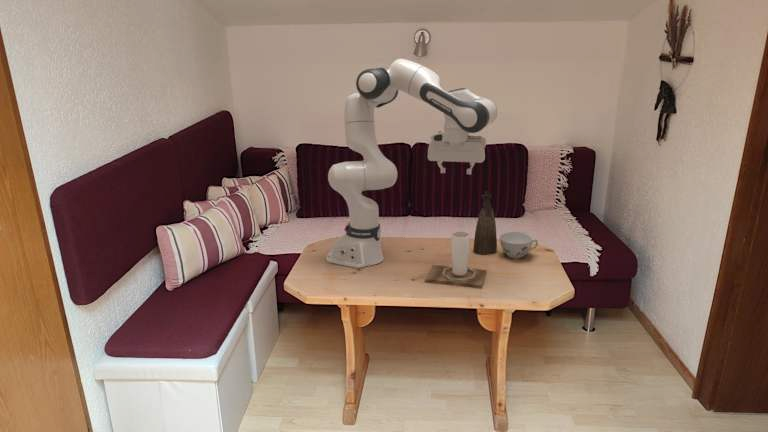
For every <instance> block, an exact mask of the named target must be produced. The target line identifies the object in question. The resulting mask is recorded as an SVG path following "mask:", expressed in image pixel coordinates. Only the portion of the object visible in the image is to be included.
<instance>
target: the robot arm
mask: <svg viewBox="0 0 768 432" xmlns="http://www.w3.org/2000/svg"><path fill="white" fill-rule="evenodd" d="M355 86H356V90H357V92H355V93H352V94H350V95H348V96H347V98H346V99H345V102H344V115H343V118H344V119H343V120H344V135H345V137H344V138H345V144H346V146H347V147H348V148H349V149H350V150H352V151H353V152H357V153H358V154H360V155H362V157H363V160H355V161H343V162H338V163H335V164H332V165H331V167H330V168H329V170H328V174H327V180H328V183H329V186H330V187H331V189H332V190H334V191H336V192H337V193H339V195H341V196H342V197H343V199H344V200H345V202H346V204H347V208H348V213H349V215H348V216H349V221H348V222H347V225H345V227H344V228H343V231H344V232H345V233H344V234H342V235H341V236H339V237H338V238H337V239H336V240H335V241H334V242H333V244H332V247H331V251H329V252H328V253H327V254H326V256H325V261H326V263H331V264H335V265H340V266H341V265H342V266H345V267H349V268H355V269H361V268H365V267H367V266H368V267H370V266H374V265H376V264H377V265H378V264H380V263H381V262H383V261H384V259H385V257H384V254H383V250H382V246H381V240H380V239H381V224H380V223H379V222H380V217H379V213H380V212H379V205H378V203H377V202H376V201H374V199H371V198H370V197H367V196H365V195H363V194H362V192H365V191H375V190H384V189H388V188H391V187H393V186H394V185H395V184H396V182H397V179H398V170H397V167H396V165H395V164H394V163H393V162H392V161H391V160H390V159H388V158H387V157H386V156H385V155H384V154H383V152H382V151H381V149H380V148H379V145H378V141H377V138H376V137H377V136H376V130H375V129H376V127H375V126H376V125H375V115H374V114H375V108H377V109H379V108H381V107H384V106H385V105H388V104H390V103H392V102H394V101H395V99H397V97H398V95H399V91H400V92H404V93H406V94H407V95H408V96H411V97H412V98H415V99H417V100H419V101H422V102H424V103H426V104H428V105H430V106H431V107H433V108H435V109H436V110H438V111H440V112H442V113H443V116H444V124H443V129H442V130H440V131H437V132H434V133H433V134H431V136H430V141H431V142H430V143H428V147H427V160H428V161H430V162H437V163H436V164H437V165H438V167H439V169H440V174H446V167H443V165H442V163H443V162H449V163H451V162H453V163H455V162H456V163H469V166H470V168H466V175H470V176H471V175H472V170H473V168H474V166H475V164H476V163H479V164H480V163H483V162H484V161H485V159H486V153H485V148H486V146H487V141H486V138H485V137H483V136H482V135H470V133H471V134H475V133H479V132H480V131H482V130H483V129H484V128H486V127H488V126H489V125H491V124H492V123H494V122H495V121H496V119H497V115H498V107H497V106H496V104H495V102H494V101H493V100H491V99H490V98H486V97H482V96H479V95H478V94H475V93H473V92H471V90H469V89H468V88H467V87H466V88H465V87H462V88H456V89H451V90H449V91H445V90H444V88H442V82H441V78H440V76H439V75H438V74H437V73H436V72H434V71H433V70H432V69H430V68H428V67H426V66H424V65H422V64H420V63H418V62H415V61H413V60H409V59H405V58H397V59H395V60H394V61H393V62H392V63H391V65H390V66H389V68H388V69H386V68H384V67H376V68H368V69H367V68H366V69H365V70H362V71H361V72H360V73H359V74H358V75H357V78H356V81H355Z"/></svg>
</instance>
